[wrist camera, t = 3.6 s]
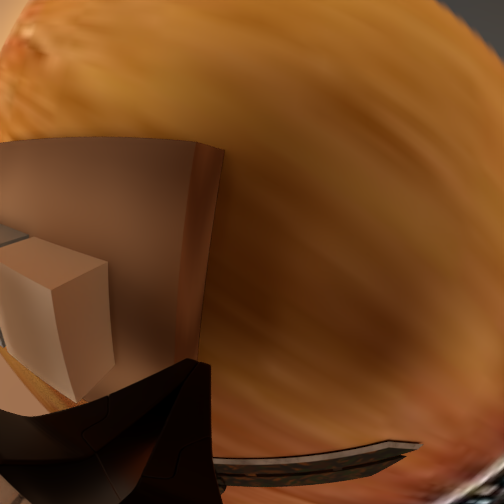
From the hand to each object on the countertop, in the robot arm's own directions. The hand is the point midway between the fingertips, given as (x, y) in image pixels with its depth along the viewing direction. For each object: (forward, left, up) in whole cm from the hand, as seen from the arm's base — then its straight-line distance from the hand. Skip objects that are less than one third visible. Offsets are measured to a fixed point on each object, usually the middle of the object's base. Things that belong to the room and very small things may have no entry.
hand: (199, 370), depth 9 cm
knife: (-13, -3, -5) cm, 14 cm away
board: (0, +9, -4) cm, 10 cm away
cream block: (0, +7, -1) cm, 7 cm away
